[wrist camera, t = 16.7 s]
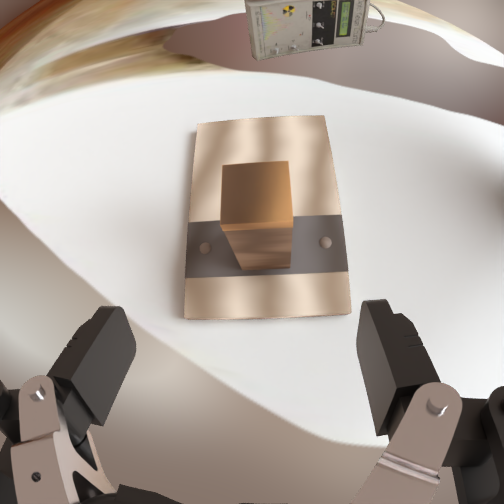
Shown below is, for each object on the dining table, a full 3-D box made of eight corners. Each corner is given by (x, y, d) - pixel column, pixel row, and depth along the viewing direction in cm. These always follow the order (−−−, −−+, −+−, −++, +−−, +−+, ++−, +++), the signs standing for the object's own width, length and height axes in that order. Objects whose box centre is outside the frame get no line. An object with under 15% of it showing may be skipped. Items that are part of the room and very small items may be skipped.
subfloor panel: (323, 123, 37) (324, 114, 36) (348, 314, 29) (351, 312, 28) (200, 131, 39) (197, 123, 37) (188, 319, 31) (183, 317, 29)
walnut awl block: (288, 223, 31) (288, 160, 21) (290, 268, 30) (293, 221, 20) (242, 226, 32) (222, 164, 21) (242, 270, 30) (220, 225, 20)
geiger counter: (247, -9, 29) (403, -15, 29) (235, -22, 31) (381, -29, 31) (257, 65, 42) (390, 47, 42) (246, 46, 44) (372, 30, 44)
